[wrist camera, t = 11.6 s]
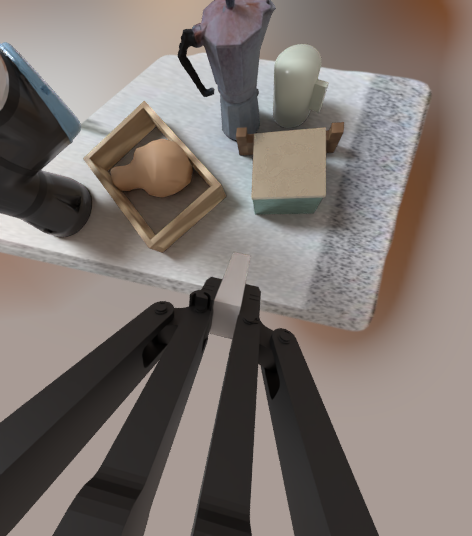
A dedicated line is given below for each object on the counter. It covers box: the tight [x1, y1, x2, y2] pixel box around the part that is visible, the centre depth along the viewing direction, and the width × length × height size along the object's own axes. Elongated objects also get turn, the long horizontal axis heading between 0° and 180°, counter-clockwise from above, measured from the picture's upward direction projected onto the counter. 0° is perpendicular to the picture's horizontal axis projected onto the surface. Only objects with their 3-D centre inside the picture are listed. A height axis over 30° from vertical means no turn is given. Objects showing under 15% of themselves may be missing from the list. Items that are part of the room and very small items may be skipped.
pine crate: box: [83, 101, 226, 253], centre depth 43 cm, size 28×19×5 cm
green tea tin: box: [252, 127, 326, 214], centre depth 37 cm, size 12×12×8 cm
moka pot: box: [178, 0, 276, 140], centre depth 34 cm, size 10×15×20 cm, turn 111°
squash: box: [110, 139, 193, 197], centre depth 41 cm, size 11×20×9 cm, turn 92°
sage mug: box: [273, 44, 329, 128], centre depth 37 cm, size 10×8×9 cm
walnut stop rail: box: [236, 122, 344, 155], centre depth 39 cm, size 20×2×5 cm, turn 85°
